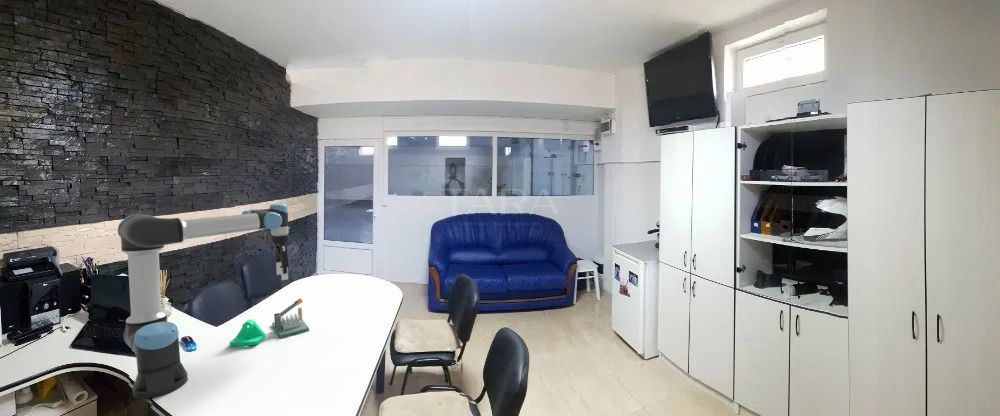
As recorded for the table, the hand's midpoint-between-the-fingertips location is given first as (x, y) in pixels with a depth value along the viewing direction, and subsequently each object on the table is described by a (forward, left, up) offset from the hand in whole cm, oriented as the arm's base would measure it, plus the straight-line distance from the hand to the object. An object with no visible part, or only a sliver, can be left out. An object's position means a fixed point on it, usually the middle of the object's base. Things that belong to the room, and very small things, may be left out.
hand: (282, 277), depth 180 cm
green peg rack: (0, -2, -28) cm, 28 cm away
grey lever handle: (0, -3, -18) cm, 18 cm away
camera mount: (-5, +17, -28) cm, 33 cm away
